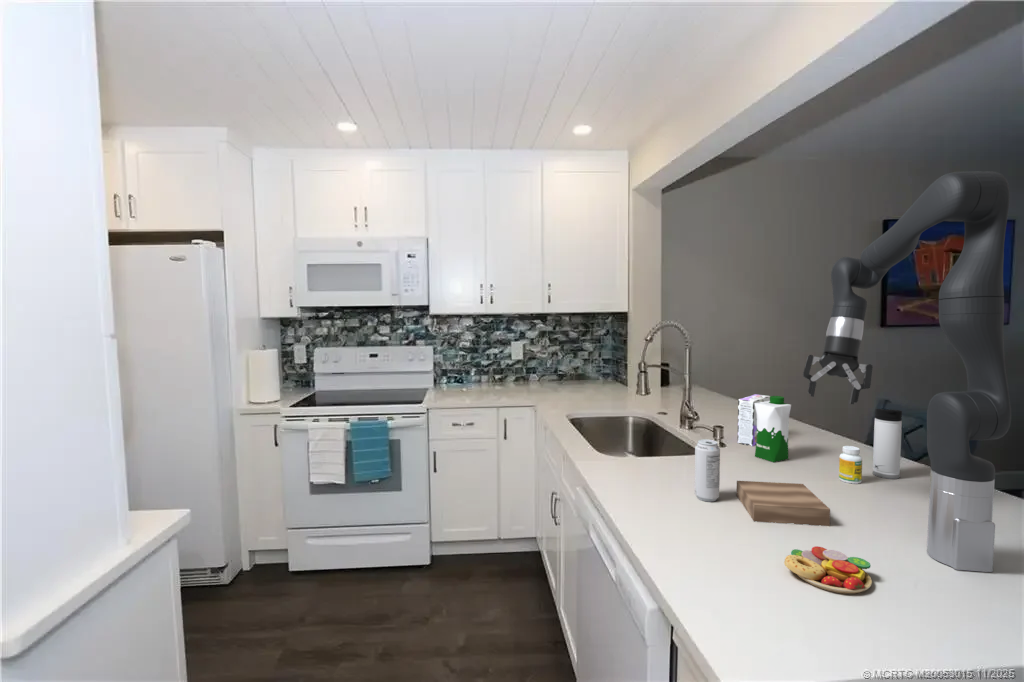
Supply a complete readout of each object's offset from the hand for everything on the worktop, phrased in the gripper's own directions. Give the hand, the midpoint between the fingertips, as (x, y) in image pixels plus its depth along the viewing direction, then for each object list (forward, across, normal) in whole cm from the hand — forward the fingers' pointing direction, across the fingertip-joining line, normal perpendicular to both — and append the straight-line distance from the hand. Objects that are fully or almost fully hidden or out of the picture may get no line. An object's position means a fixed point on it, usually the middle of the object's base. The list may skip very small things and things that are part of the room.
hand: (831, 400), depth 124 cm
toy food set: (+33, +1, -35) cm, 48 cm away
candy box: (+20, -16, +56) cm, 62 cm away
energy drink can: (+32, -23, -6) cm, 40 cm away
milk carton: (+22, -10, +38) cm, 45 cm away
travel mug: (+18, +20, +33) cm, 42 cm away
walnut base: (+29, -7, -6) cm, 30 cm away
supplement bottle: (+21, +10, +24) cm, 34 cm away
